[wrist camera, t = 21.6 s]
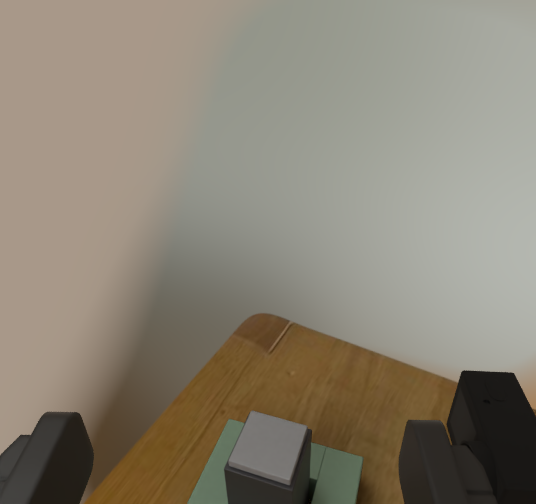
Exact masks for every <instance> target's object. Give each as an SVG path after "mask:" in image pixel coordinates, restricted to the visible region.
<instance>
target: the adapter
mask: <svg viewBox="0 0 536 504" xmlns="http://www.w3.org/2000/svg"><path fill="white" fill-rule="evenodd" d="M244 424H245V423H242V422H239V421H235V420H232V419H229V420H228V422H227V424H226V426H225V428H224V430H223V432H222V434H221V436H220V438H219V440H218V442H217V444H216V446H215V448H214V450H213V452H212V454H211V456H210V458H209V460H208V462H207V464H206V466H205V468H204V470H203V472H202V474H201V476H200V478H199V480H198V482H197V484H196V486H195V488H194V491H193V493H192V495H191V497H190V499H189V501H188V503H187V504H228V499H227V491H226V483H225V475H224V467H225V465H226V463H227V461H228V458H229V456H230V454H231V452H232V450H233V448H234V445H235V443H236V441H237V439H238V437H239V435H240V432H241V430H242V428H243V426H244ZM363 459H364V458H363V457H361V456H357V455H354V454H350V453H347V452H343V451H340V450H336V449H333V448H329V447H326V446H322V445H319V444H315V443H312V442H311V459H310V480H309V500H312V502H311V504H356V500H357V495H358V490H359V484H360V479H361V472H362V465H363Z"/></svg>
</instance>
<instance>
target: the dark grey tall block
mask: <svg viewBox="0 0 536 504" xmlns="http://www.w3.org/2000/svg"><path fill="white" fill-rule="evenodd" d="M311 438H312V430H311V429H307V426H306V425H302V424H298V423H295V422H291V421H288V420H284V419H281V418H277V417H273V416H270V415H266V414H263V413H259V412H256V411H251V412H250V413H249V415H248V417H247V419H246V422H245V424H244V426H243V428H242V430H241V432H240V435H239V437H238V439H237V441H236V443H235V445H234V448H233V450H232V452H231V454H230V456H229V458H228V461H227V463H226V465H225V467H224V475H225V483H226V491H227V499H228V504H308V501H309V480H310V459H311Z"/></svg>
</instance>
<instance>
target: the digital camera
mask: <svg viewBox="0 0 536 504" xmlns="http://www.w3.org/2000/svg"><path fill="white" fill-rule="evenodd" d="M447 427H448V430H449V434H450V437H451V441H452V444H453V445H464V446H467V447H468V448H469V450H470V451H471V452H472V453H473V454H474V456H475V457H476V458H477V459H478V461H479V462H480V463H481V464H482V465H483V467H484V469H485V472H486V475H487V477H488V480H489V482H490V485H491V487H492V490H493V495H494V496H495V498H496V500H497V503H498V504H536V416H535V414H534V412H533V410H532V408H531V406H530V404H529V402H528V400H527V398H526V396H525V394H524V392H523V390H522V388H521V386H520V384H519V382H518V380H517V379H516V376H515V375H514V373H508V372H484V371H462V372H461V376H460V379H459V382H458V386H457V389H456V393H455V396H454V400H453V403H452V407H451V410H450V414H449V417H448V421H447Z"/></svg>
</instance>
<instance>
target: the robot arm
mask: <svg viewBox="0 0 536 504" xmlns="http://www.w3.org/2000/svg"><path fill="white" fill-rule="evenodd" d="M93 459H94V453H93V448H92V445H91V442H90V439H89V437H88V434H87V431H86V428H85V426H84V423H83V420H82V417H81V415H80V414H79V413H77V412H46V413H45V414H43V416H42V417H41V418H40V420H39V421H38V423H37V425H36V427H35V429H34V431H33V433H32V434H31V435H20V436H19V437H18V438H17V439H16V440H15V441H14V442H13V443H12V444H11V445H10V446H9V447H8V448H7V449H6V450H5V451H4V452H3V453H2V454H1V455H0V504H79V503H80V501H81V498H82V496H83V493H84V490H85V488H86V485H87V482H88V480H89V477H90V475H91V471H92V467H93ZM399 477H400V484H401V489H402V493H403V498H404V503H405V504H498V503H497V500H496V498H495V496H494V495H493V490H492V487H491V485H490V482H489V480H488V477H487V475H486V472H485V469H484V467H483V465H482V464H481V463H480V462H479V461H478V459H477V458H476V457H475V456H474V454H473V453H472V452H471V451H470V450H469V448H468V447H467V446H464V445H451V444H450V442H449V439H448V436H447V433H446V430H445V427H444V425H443V423H442V422H441V421H439V420H408V421H407V424H406V428H405V433H404V437H403V442H402V446H401V451H400V455H399Z"/></svg>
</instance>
